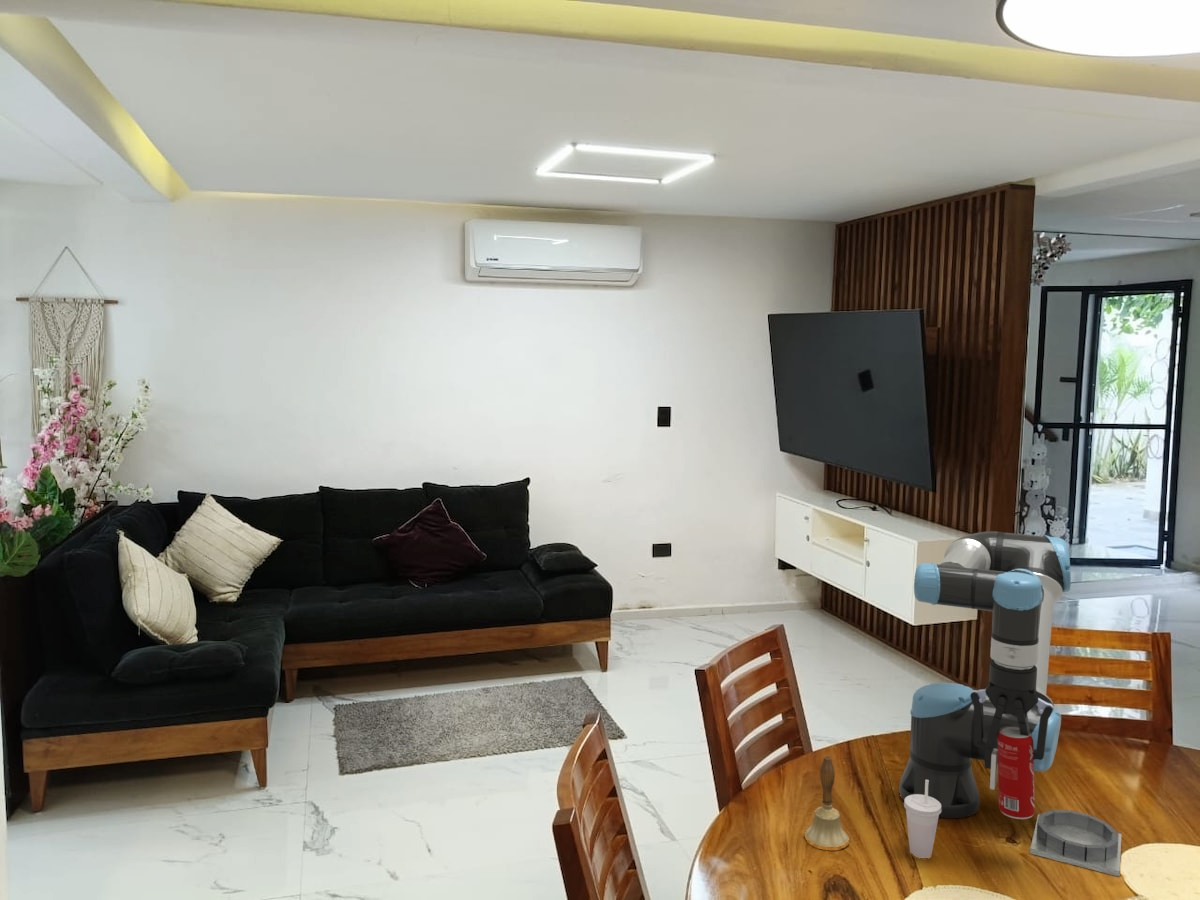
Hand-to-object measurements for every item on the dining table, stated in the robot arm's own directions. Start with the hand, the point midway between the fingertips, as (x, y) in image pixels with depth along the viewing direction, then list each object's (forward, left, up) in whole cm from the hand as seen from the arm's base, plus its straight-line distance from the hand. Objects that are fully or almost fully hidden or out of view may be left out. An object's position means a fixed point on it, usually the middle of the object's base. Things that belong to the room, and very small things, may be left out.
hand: (1006, 788), depth 161 cm
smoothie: (-13, -6, -13) cm, 19 cm away
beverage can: (+1, 0, -4) cm, 4 cm away
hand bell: (-29, -10, -13) cm, 33 cm away
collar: (+11, +11, -13) cm, 20 cm away
